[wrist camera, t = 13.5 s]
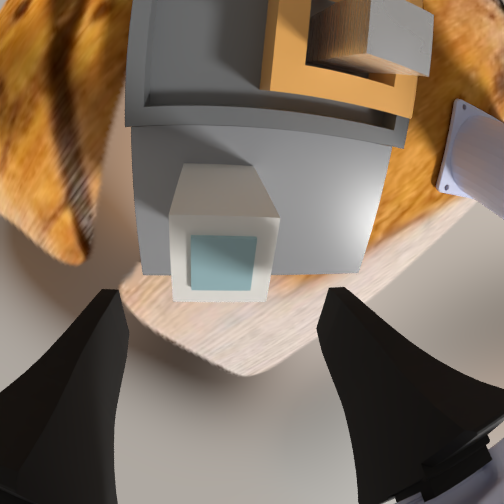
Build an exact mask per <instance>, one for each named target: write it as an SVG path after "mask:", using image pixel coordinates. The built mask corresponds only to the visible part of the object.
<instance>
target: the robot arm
mask: <svg viewBox="0 0 504 504" xmlns="http://www.w3.org/2000/svg"><path fill="white" fill-rule="evenodd" d="M445 186H446V187H445ZM436 189H437V190H438V191H439V192H442V193H447V194H452V195H457V196H462V197H467V198H472V199H475V200H477V201H478V202H480V203H481V204H482V205H484V206H485V207H487V208H488V209H490V210H491V211H493V212H494V213H496V214H497V215H498V216H500V217H501V218H502V219H504V123H502V122H501V121H499V120H498V119H496V118H494V117H493V116H491V115H489V114H487V113H486V112H484V111H482V110H480V109H478V108H477V107H475V106H473V105H471V104H469V103H467V102H465V101H463V100H461V99H455V101H454V105H453V111H452V117H451V123H450V128H449V133H448V138H447V143H446V148H445V152H444V156H443V161H442V165H441V169H440V173H439V177H438V180H437V184H436ZM316 329H317V333H318V338H319V342H320V346H321V350H322V353H323V356H324V358H325V361H326V364H327V366H328V369H329V372H330V374H331V377H332V379H333V382H334V384H335V387H336V389H337V392H338V395H339V397H340V400H341V403H342V406H343V409H344V412H345V416H346V420H347V424H348V428H349V433H350V438H351V443H352V448H353V454H354V460H355V468H356V475H357V487H358V502H359V504H382V503H385V502H387V501H389V500H392V499H394V498H395V499H396V502H397V503H395V504H504V438H503V439H502V440H500V441H499V442H498V443H497V444H496V445H494V446H493V447H491V448H490V449H487V447H486V444H488V443H489V442H490V439H489V437H488V435H487V434H489V433H490V432H491V431H492V430H493V429H495V428H496V427H497V426H498V425H499V424H501V423H502V422H503V421H504V389H502V388H499V387H496V386H493V385H489V384H486V383H484V382H481V381H479V380H476V379H474V378H472V377H469V376H467V375H465V374H463V373H461V372H459V371H457V370H455V369H453V368H451V367H449V366H447V365H446V364H444V363H442V362H440V361H438V360H437V359H435V358H434V357H432V356H431V355H429V354H428V353H426V352H424V351H423V350H422V349H420V348H419V347H417V346H416V345H414V344H413V343H412V342H410V341H409V340H408V339H406V338H405V337H404V336H402V335H401V334H400V333H398V332H397V331H396V330H395V329H394V328H392V327H391V326H390V325H389V324H387V323H386V322H385V321H384V320H383V319H382V318H380V317H379V316H378V315H377V314H376V313H375V312H373V311H372V310H371V309H370V308H369V307H368V306H366V305H365V304H364V303H363V302H362V301H361V300H360V299H358V298H357V297H356V296H355V295H354V294H352V293H351V292H350V291H349V290H347V289H346V288H345V287H335V288H329V290H328V293H327V296H326V299H325V303H324V306H323V309H322V312H321V315H320V319H319V322H318V325H317V328H316ZM128 339H129V329H128V326H127V322H126V319H125V314H124V310H123V306H122V302H121V298H120V294H119V290H114V289H113V290H111V289H102V290H101V291H100V292H99V293H98V294H97V295H96V296H95V298H94V299H93V300H92V301H91V302H90V303H89V305H88V306H87V307H86V308H85V309H84V310H83V311H82V313H81V314H80V315H79V316H78V317H77V318H76V320H75V321H74V322H73V323H72V324H71V325H70V327H69V328H68V329H67V330H66V331H65V332H64V333H63V334H62V336H61V337H60V338H59V339H58V340H57V341H56V342H55V343H54V344H53V345H52V346H51V347H50V349H49V350H48V351H47V352H46V353H45V354H44V355H43V356H42V357H41V358H40V359H39V360H38V361H37V362H36V363H34V364H33V365H32V366H31V367H30V368H29V369H28V370H27V371H26V372H25V373H24V374H22V375H21V376H20V377H19V378H18V379H16V380H15V381H14V382H13V383H11V384H10V385H9V386H8V387H7V388H5V389H4V390H3V391H1V392H0V504H118V503H117V496H116V486H115V473H114V424H115V414H116V408H117V403H118V397H119V392H120V387H121V382H122V378H123V373H124V368H125V363H126V358H127V349H128Z"/></svg>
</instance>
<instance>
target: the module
mask: <svg viewBox="0 0 504 504" xmlns="http://www.w3.org/2000/svg"><path fill="white" fill-rule="evenodd" d="M279 224H280V216H279V214H278V212H277V210H276V208H275V206H274V204H273V202H272V200H271V198H270V196H269V194H268V192H267V191H266V189H265V187H264V185H263V183H262V181H261V179H260V177H259V175H258V173H257V171H256V170H255V168H254V166H244V165H225V164H197V163H184V164H183V167H182V171H181V174H180V177H179V180H178V184H177V187H176V191H175V194H174V197H173V201H172V204H171V208H170V212H169V241H170V262H171V279H172V293H173V301H174V302H266V300H267V294H268V289H269V283H270V277H271V272H272V266H273V260H274V254H275V248H276V242H277V236H278V230H279Z"/></svg>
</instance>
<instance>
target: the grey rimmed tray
mask: <svg viewBox="0 0 504 504" xmlns="http://www.w3.org/2000/svg"><path fill="white" fill-rule="evenodd" d="M339 1H341V0H133V4H132V11H131V19H130V28H129V38H128V49H127V64H126V84H125V127H131V126H150V125H229V126H248V127H263V128H275V129H286V130H295V131H304V132H312V133H319V134H327V135H333V136H340V137H346V138H352V139H358V140H363V141H369V142H374V143H379V144H384V145H388V146H393V147H398V148H402V149H404V145H405V140H406V135H407V129H408V124H409V119H412V113H413V107H414V101H415V94H416V87H417V79H418V76H415V75H403V74H386V73H353V72H349V71H345V70H341V69H337V68H332V67H328V66H323V65H318V64H313V63H308V62H306V60H307V51H308V42H309V33H310V24H311V17H312V16H313V15H315V14H317V13H319V12H320V11H322V10H324V9H326V8H328V7H330V6H331V5H333V4H335V3H337V2H339ZM406 1H408V2H410V3H412V4H414V5H416V6H418V7H420V8H422V9H423V0H406Z"/></svg>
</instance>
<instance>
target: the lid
mask: <svg viewBox="0 0 504 504" xmlns="http://www.w3.org/2000/svg"><path fill="white" fill-rule="evenodd" d="M131 145H132V169H133V170H132V171H133V187H134V201H135V213H136V223H137V233H138V241H139V250H140V257H141V265H142V272H143V275H171V262H170V241H169V212H170V208H171V204H172V201H173V197H174V194H175V191H176V187H177V184H178V180H179V177H180V174H181V171H182V167H183V164H184V163H197V164H225V165H244V166H254V168H255V170H256V171H257V173H258V175H259V177H260V179H261V181H262V183H263V185H264V187H265V189H266V191H267V192H268V194H269V196H270V198H271V200H272V202H273V204H274V206H275V208H276V210H277V212H278V214H279V216H280V224H279V230H278V236H277V242H276V248H275V254H274V260H273V266H272V272H271V275H299V274H341V273H358V272H359V269H360V266H361V263H362V260H363V257H364V254H365V251H366V247H367V244H368V241H369V237H370V234H371V231H372V227H373V224H374V220H375V216H376V213H377V209H378V205H379V201H380V198H381V194H382V190H383V186H384V181H385V177H386V173H387V168H388V164H389V159H390V155H391V150H392V146H388V145H384V144H379V143H374V142H369V141H363V140H358V139H352V138H346V137H340V136H333V135H327V134H319V133H312V132H304V131H295V130H286V129H275V128H263V127H248V126H229V125H150V126H132V127H131Z"/></svg>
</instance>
